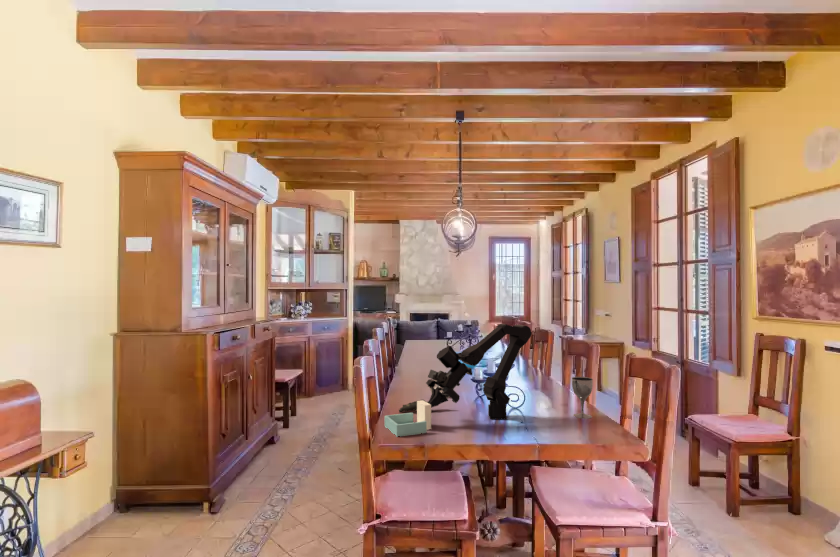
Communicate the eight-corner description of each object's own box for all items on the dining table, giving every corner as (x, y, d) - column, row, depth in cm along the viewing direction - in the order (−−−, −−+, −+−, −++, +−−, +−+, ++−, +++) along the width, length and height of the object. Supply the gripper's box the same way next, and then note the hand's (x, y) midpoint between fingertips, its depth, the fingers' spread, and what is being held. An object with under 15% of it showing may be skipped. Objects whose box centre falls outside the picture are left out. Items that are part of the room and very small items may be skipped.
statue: (402, 420, 195) (447, 408, 200) (399, 408, 194) (446, 396, 199) (398, 414, 201) (443, 402, 206) (396, 402, 200) (441, 390, 205)
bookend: (423, 424, 181) (423, 400, 181) (431, 429, 174) (431, 404, 174) (399, 427, 177) (399, 402, 178) (407, 432, 171) (406, 407, 171)
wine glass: (593, 414, 193) (593, 377, 193) (592, 419, 186) (591, 381, 186) (573, 412, 197) (573, 376, 197) (570, 417, 189) (570, 379, 190)
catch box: (412, 422, 182) (412, 412, 183) (426, 432, 170) (426, 421, 170) (384, 426, 178) (384, 415, 178) (396, 436, 166) (396, 425, 166)
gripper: (430, 358, 189) (404, 388, 184) (452, 365, 172) (423, 399, 167) (448, 377, 192) (423, 407, 187) (471, 386, 175) (443, 419, 170)
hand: (427, 407), depth 178 cm, fingers closed
